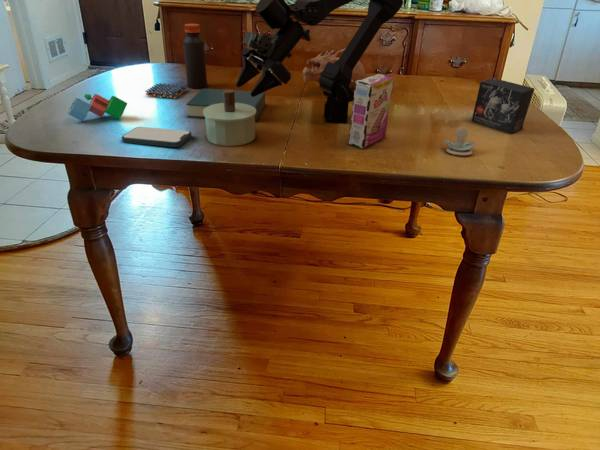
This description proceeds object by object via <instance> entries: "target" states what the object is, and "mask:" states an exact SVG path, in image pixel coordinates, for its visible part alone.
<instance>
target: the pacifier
mask: <svg viewBox="0 0 600 450" xmlns="http://www.w3.org/2000/svg"><path fill="white" fill-rule="evenodd" d="M468 135H469V130H468V128H467V127H465V126H460V127H458V128H457V129H456V131H455V141H454V142H452V141H450V140H447V139H444V143H445V145H446V146H448V147H449V148H447V149H446V152H447V153H448V154H451V155H455V156H462V157H463V156H464V157H465V156H466V157H467V156H472V154H473V151H472V149H473V148H474V146H475V142H474V141H467V142H465V140H466V139H467V137H468Z"/></svg>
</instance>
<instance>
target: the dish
mask: <svg viewBox="0 0 600 450" xmlns="http://www.w3.org/2000/svg"><path fill="white" fill-rule="evenodd" d="M204 121H205V122H204V123H205V133H206V134H205V135H206V140H207V141H208V142H210V143H212V144H214V145H217V146H223V147H236V146H243V145H246V144H249V143H251V142H253V141H254V140H255V139H256V122H255V116H254V117H252V118H250V119H247V120H243V121H235V122H222V121H215V120H211V119H208V118H206V117H205V118H204Z"/></svg>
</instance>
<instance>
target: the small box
mask: <svg viewBox="0 0 600 450" xmlns="http://www.w3.org/2000/svg"><path fill="white" fill-rule="evenodd" d="M534 92H535V88H534V87H531V86H526V85H523V84H519V83H515V82H511V81H507V80H504V79H499V78H494V77H491V78H488V79H484V80H482V81H480V83H479V86H478V91H477V95H476V99H475V104H474V109H473V113H472V116H471V122H474V123H476V124H479V125H482V126H483V125H484V126H486V127H489V128H492V129H495V130H498V131H501V132H504V133H506V134H507V133H508V134H514V133H516V132H519V131H520V130H523V128H524V124H525V120H526V117H527V114H528V110H529V108H530V105H531V101H532V98H533V95H534Z"/></svg>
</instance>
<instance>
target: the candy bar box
mask: <svg viewBox="0 0 600 450" xmlns="http://www.w3.org/2000/svg"><path fill="white" fill-rule="evenodd" d="M394 82H395V77H394V76H390V75H386V74H382V73H377V74H374V75H371V76H368V77H364V79H361V80H357V81H355V87H354V90H353V92H354V99H353V101H352V109H351V120H350V128H349V136H348V145H350V146H352V147H356V148H358V149H363V150H364V149H366V148H368V147H370V146H372V145H373V144H375V143H378V142H380V141H381V140H384V139H385V138H386V134H387V127H388V120H389V113H390V107H391V101H392V94H393V87H394Z"/></svg>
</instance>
